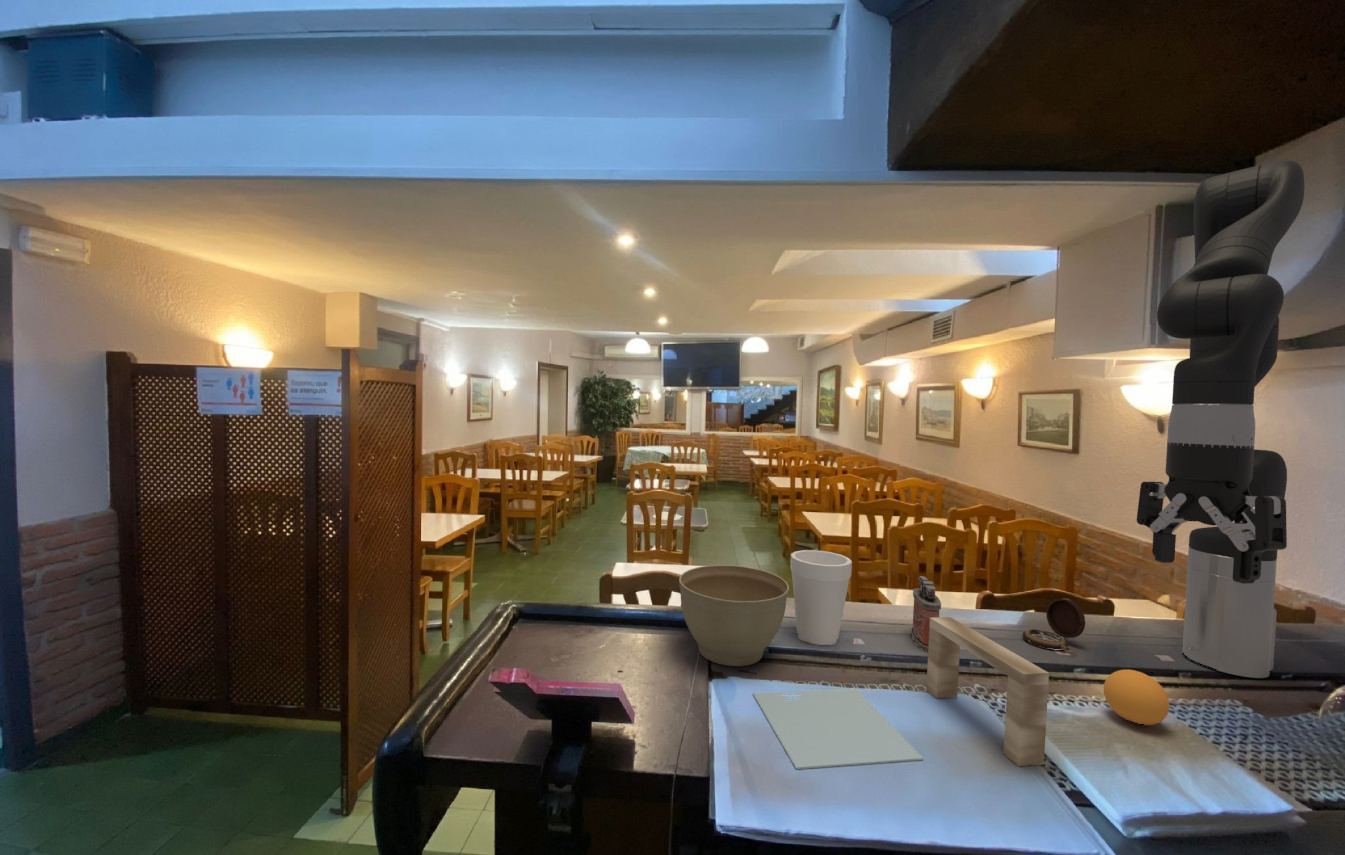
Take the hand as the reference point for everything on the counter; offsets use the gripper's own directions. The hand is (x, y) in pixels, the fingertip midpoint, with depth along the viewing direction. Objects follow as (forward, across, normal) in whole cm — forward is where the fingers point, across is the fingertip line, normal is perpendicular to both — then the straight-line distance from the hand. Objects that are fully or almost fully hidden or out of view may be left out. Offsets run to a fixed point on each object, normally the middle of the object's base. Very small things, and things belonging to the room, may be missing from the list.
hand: (1201, 571), depth 65 cm
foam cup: (+18, +25, +39) cm, 50 cm away
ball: (+15, -1, +9) cm, 18 cm away
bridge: (+18, +1, +29) cm, 34 cm away
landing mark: (+18, +2, +47) cm, 51 cm away
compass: (+18, +20, 0) cm, 27 cm away
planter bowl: (+18, +21, +54) cm, 61 cm away
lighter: (+18, +22, +22) cm, 36 cm away
